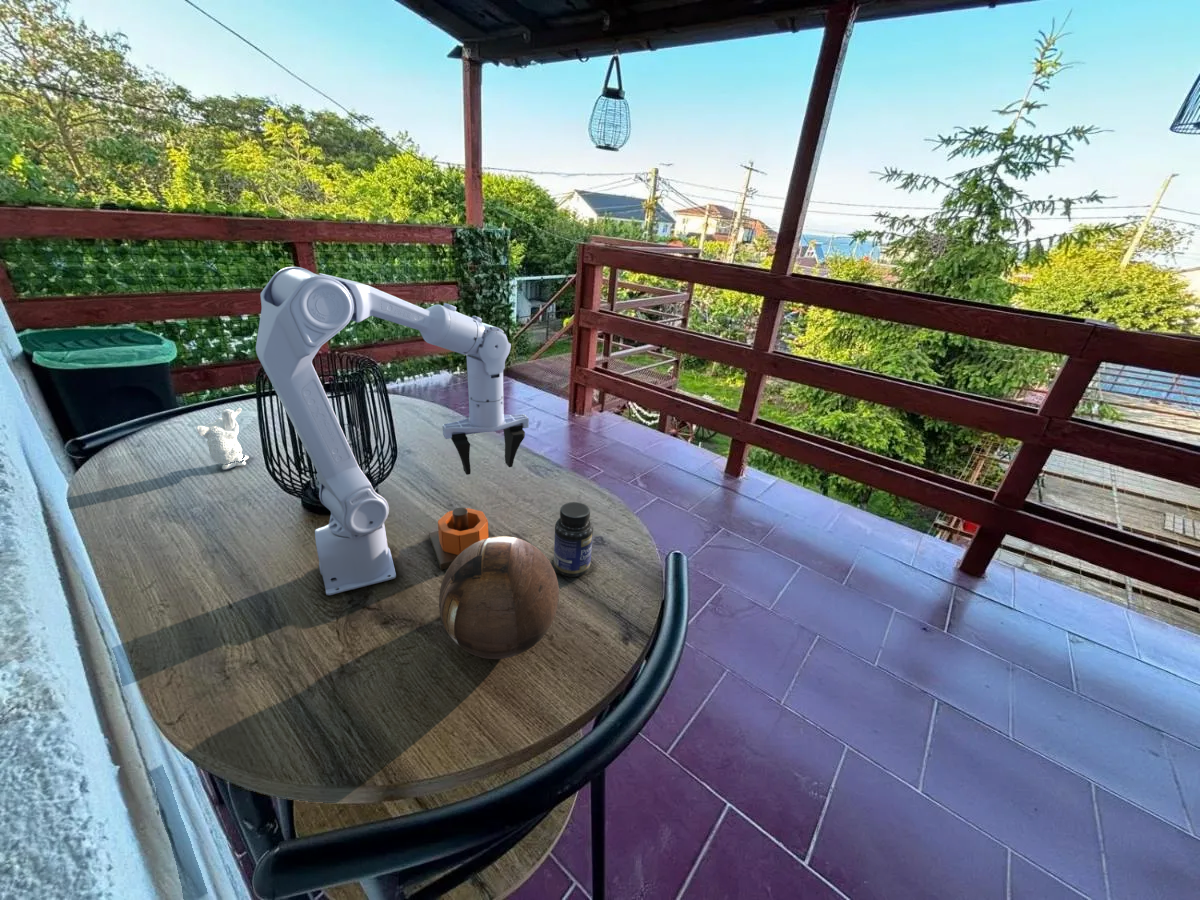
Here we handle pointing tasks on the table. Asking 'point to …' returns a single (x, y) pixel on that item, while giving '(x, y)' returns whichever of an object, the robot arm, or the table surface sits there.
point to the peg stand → (458, 524)
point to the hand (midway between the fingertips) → (488, 468)
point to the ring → (463, 539)
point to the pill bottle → (573, 540)
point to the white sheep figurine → (224, 439)
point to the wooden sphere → (499, 597)
